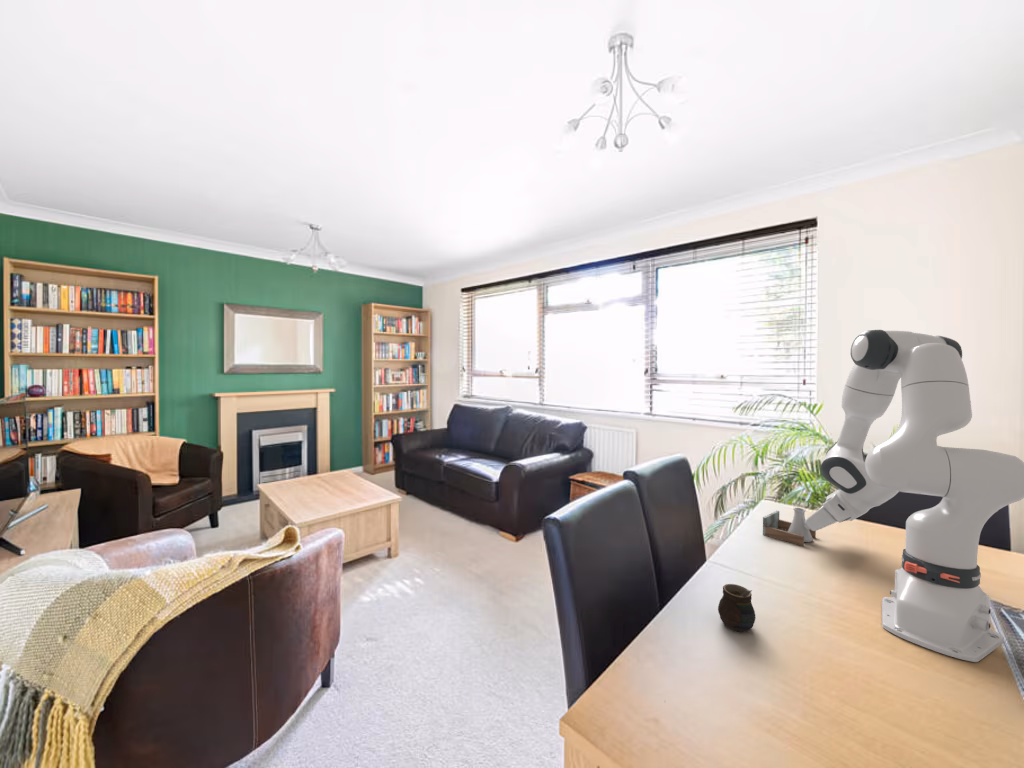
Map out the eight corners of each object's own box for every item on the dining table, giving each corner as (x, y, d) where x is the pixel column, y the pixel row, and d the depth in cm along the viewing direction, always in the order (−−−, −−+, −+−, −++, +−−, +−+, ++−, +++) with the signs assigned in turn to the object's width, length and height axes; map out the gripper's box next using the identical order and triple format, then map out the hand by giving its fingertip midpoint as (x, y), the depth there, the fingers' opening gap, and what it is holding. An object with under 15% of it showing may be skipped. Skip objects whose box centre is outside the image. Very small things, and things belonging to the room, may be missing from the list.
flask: (780, 535, 139) (781, 506, 139) (796, 533, 142) (796, 504, 141) (802, 544, 132) (802, 513, 132) (817, 541, 135) (818, 511, 135)
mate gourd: (733, 613, 94) (735, 570, 94) (764, 632, 87) (766, 586, 87) (710, 619, 92) (711, 575, 91) (740, 640, 85) (741, 593, 84)
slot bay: (802, 546, 131) (803, 527, 131) (762, 534, 140) (763, 517, 140) (815, 537, 138) (815, 519, 138) (776, 527, 147) (776, 510, 147)
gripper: (845, 490, 135) (810, 512, 143) (824, 502, 123) (787, 525, 131) (863, 507, 132) (826, 528, 140) (842, 521, 119) (803, 543, 128)
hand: (807, 527), depth 135 cm, fingers closed, pressing on flask
